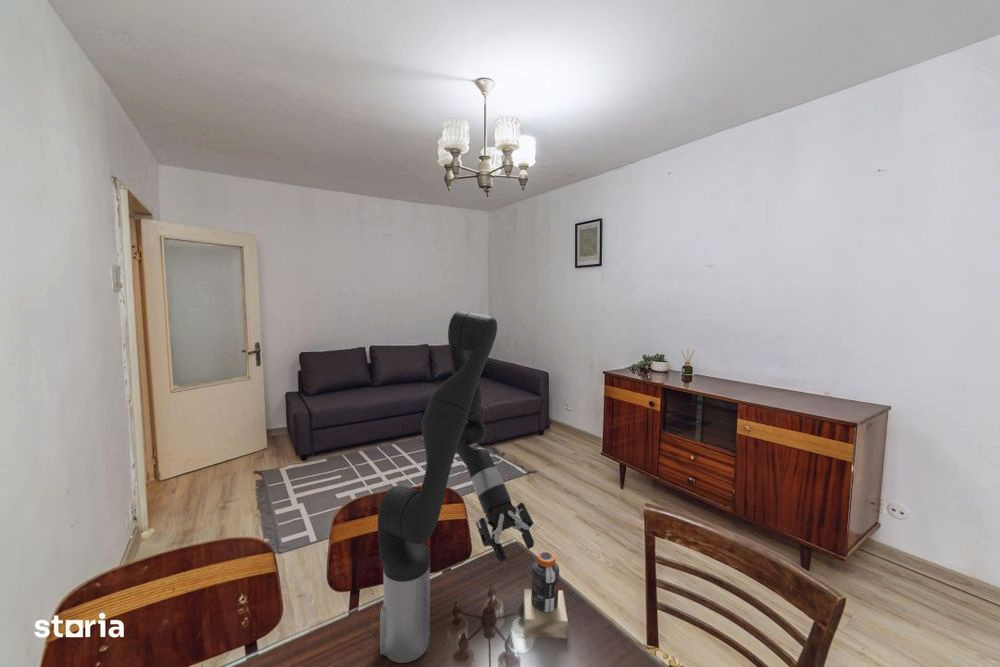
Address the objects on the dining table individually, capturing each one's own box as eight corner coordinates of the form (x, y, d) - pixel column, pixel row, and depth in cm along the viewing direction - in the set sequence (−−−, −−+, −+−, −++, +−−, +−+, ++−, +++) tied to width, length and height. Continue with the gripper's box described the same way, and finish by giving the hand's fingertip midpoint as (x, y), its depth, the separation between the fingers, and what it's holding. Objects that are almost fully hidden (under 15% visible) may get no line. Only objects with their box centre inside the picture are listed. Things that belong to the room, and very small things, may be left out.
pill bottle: (559, 614, 90) (561, 565, 89) (531, 612, 90) (533, 563, 89) (556, 594, 96) (558, 548, 94) (530, 593, 96) (532, 546, 95)
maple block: (524, 636, 89) (525, 618, 88) (523, 604, 98) (524, 588, 97) (566, 638, 88) (567, 621, 88) (562, 606, 97) (562, 590, 97)
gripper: (473, 491, 100) (501, 561, 93) (518, 476, 109) (547, 538, 101) (461, 503, 105) (487, 570, 97) (505, 487, 114) (532, 548, 106)
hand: (518, 554), depth 99 cm, fingers open, 8 cm apart
